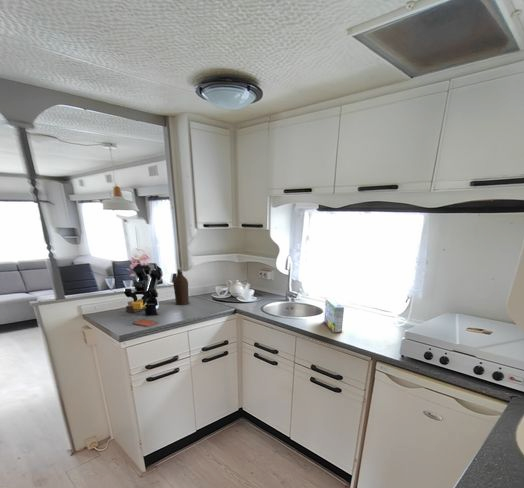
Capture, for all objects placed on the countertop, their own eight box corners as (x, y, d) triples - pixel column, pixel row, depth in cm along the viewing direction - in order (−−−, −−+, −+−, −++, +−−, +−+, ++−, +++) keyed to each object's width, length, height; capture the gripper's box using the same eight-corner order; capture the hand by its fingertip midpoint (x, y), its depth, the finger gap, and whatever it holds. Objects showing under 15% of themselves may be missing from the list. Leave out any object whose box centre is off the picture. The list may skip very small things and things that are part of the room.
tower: (142, 310, 223) (140, 300, 221) (134, 313, 217) (132, 302, 215) (134, 309, 226) (133, 299, 223) (126, 311, 220) (125, 301, 218)
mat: (133, 323, 196) (133, 322, 196) (143, 320, 203) (143, 319, 203) (147, 326, 192) (146, 325, 192) (156, 322, 198) (156, 322, 198)
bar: (139, 304, 198) (138, 299, 197) (146, 304, 198) (146, 299, 197) (133, 308, 188) (132, 303, 187) (140, 308, 188) (140, 303, 187)
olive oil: (192, 304, 242) (189, 269, 233) (178, 306, 236) (175, 271, 227) (185, 301, 250) (183, 268, 240) (172, 303, 244) (169, 269, 234)
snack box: (323, 321, 205) (325, 298, 200) (331, 321, 206) (334, 298, 200) (332, 332, 186) (335, 307, 180) (342, 332, 186) (345, 307, 181)
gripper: (122, 274, 190) (118, 297, 184) (154, 275, 190) (151, 298, 184) (128, 285, 200) (125, 307, 194) (159, 285, 201) (156, 307, 195)
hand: (139, 305), depth 192 cm, fingers closed on bar, 4 cm apart
